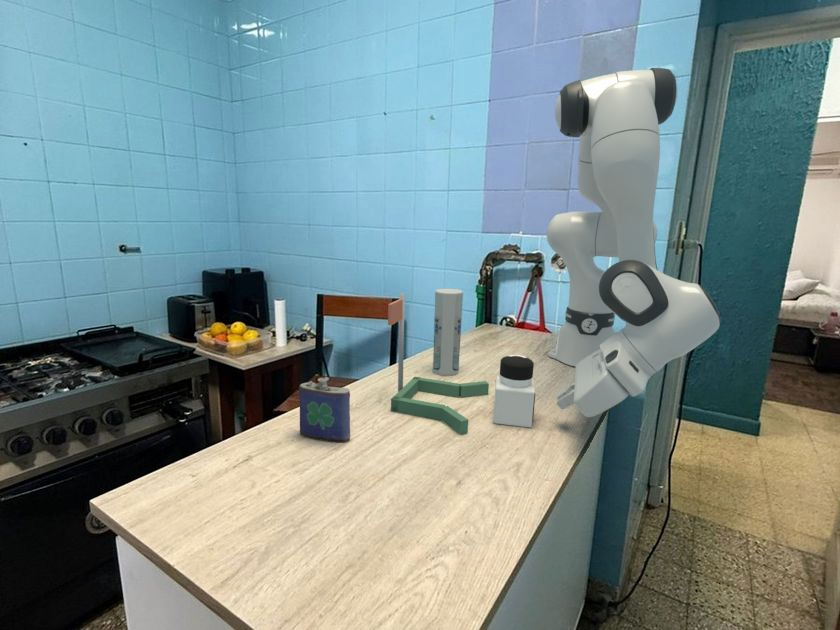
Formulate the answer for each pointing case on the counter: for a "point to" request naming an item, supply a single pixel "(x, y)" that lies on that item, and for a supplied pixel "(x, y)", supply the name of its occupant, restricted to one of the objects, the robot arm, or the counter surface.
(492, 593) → the counter surface
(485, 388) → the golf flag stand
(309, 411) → the flask
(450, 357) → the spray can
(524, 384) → the medicine bottle
